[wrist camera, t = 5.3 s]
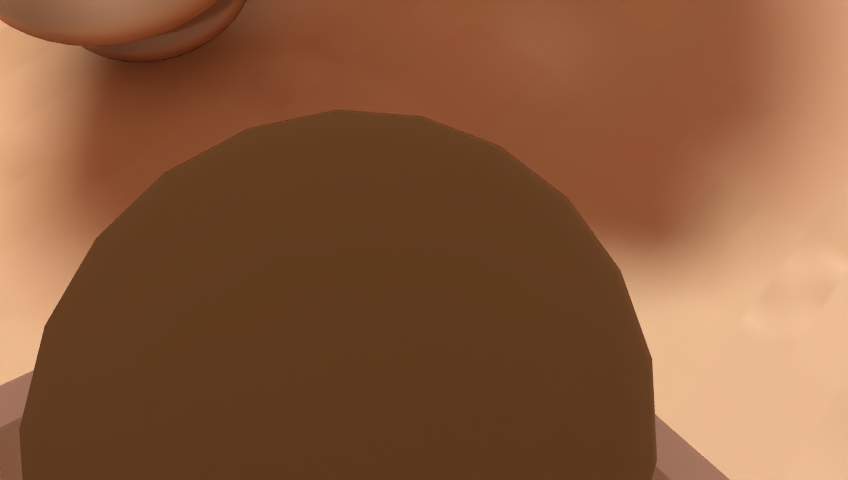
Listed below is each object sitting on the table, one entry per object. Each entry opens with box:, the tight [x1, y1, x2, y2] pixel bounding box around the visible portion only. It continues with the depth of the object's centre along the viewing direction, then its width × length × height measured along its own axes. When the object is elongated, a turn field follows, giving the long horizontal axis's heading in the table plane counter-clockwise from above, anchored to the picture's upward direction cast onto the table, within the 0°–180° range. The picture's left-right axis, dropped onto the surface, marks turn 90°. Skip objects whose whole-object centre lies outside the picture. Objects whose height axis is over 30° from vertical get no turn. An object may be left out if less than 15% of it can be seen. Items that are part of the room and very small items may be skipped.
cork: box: [19, 110, 657, 480], centre depth 8 cm, size 6×6×11 cm
